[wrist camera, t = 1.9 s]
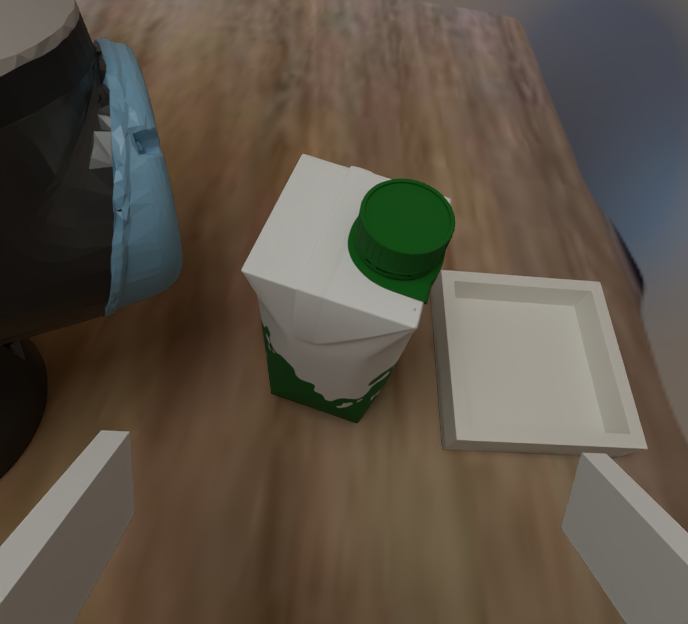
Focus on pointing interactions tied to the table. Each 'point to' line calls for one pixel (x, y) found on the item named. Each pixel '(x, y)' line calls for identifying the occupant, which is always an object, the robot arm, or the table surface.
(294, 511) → the table surface
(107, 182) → the robot arm
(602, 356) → the square holder
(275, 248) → the soya milk
